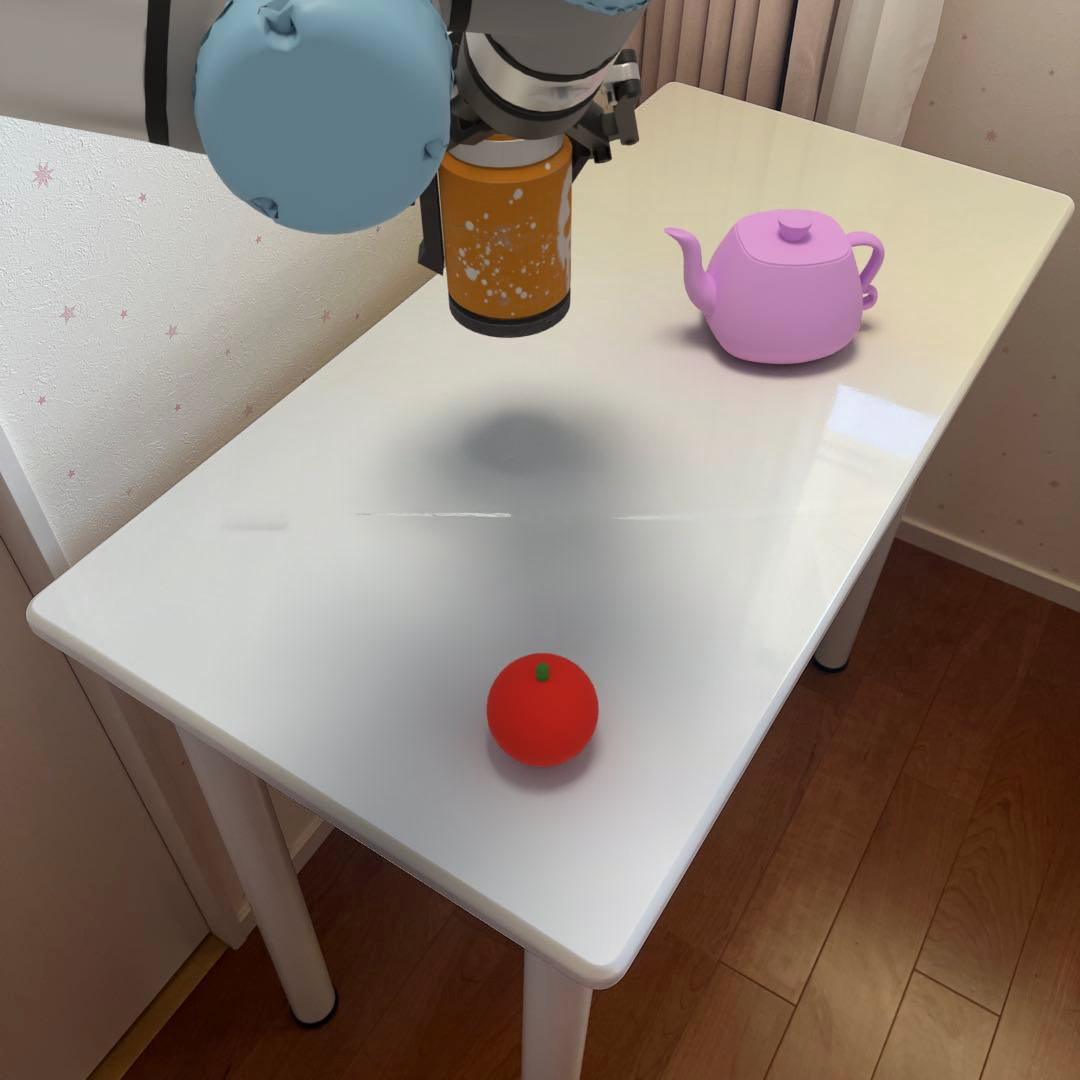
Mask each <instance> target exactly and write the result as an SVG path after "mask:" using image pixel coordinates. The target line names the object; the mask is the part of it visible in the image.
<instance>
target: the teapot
mask: <svg viewBox="0 0 1080 1080" xmlns="http://www.w3.org/2000/svg"><path fill="white" fill-rule="evenodd" d="M663 232H664V233H665V234H667V235H668V236H669V237H671V238H672V239H673V240H674V241H676V242H677V243H678V245H679V247H680V248H681V251H682V257H683V283H684V288H685V293H686V294H687V296H688V298H689V301H690V302H691V303H692V304H693V305H694V306H695V308H697V309H698V310H700V311H701V312H702V313H703V316H704V318H705V320H706V324H707V325H708V327H709V328H710V330H711V332H712V334H713V336H714V337H715V339H716V341H718V343H719V345H720V346H721V347H722V349H724V351H726V353H728V354H730V355H731V356H733V357H735V358H737V359H740V360H742V361H743V360H744V361H748V362H753V363H760V364H771V365H792V364H793V365H794V364H802V363H807V362H812V361H816V360H819V359H823V358H827V357H829V356H831V355H833V354H835V353H837V352H839V351H840V350H842V349H843V348H844V347H846V346H847V345H848V344H850V342H851V341H852V340H853V339H854V338H855V337H856V336H857V334H858V332H859V330H860V328H861V322H862V318H863V311H867V310H869V309H872V307H874V306H875V305H876V303H877V301H878V297H879V293H878V290H877V288H876V287H875V286H874V285H872V282H873V280H874V279H875V277H876V276H877V274H878V273H879V271H880V269H881V267H882V266H883V263H884V260H885V255H886V254H885V247H884V244H883V242H882V241H881V240H880V238H879V237H877V236H876V234H873V233H871V232H868V231H864V230H856V231H851V232H848V233H845V231H844V229H843V227H842V226H841V225H840V224H839V222H838V221H837V220H836V219H835V218H834V217H832V216H831V215H829V214H827V213H824V212H821V211H816V210H811V209H799V208H798V209H795V208H783V209H771V210H764V211H758V212H754V213H751V214H748V215H745V216H743V217H741V218H740V219H738V220H737V221H736V222H735V223H734V224H733V226H731V228H730V229H729V230H728V232H727V233H726V234H725V236H724V237H723V239H722V240H721V241H720V243H719V244H718V246H717V247H716V249H715V250H714V252H713V254H712V256H711V258H710V260H709V262H708V265H707V268H706V270H704V267H703V261H702V260H703V259H702V258H703V257H702V248H701V243H700V241H699V239H698V238H697V237H696V235H694V234H693V233H692V232H690V231H688V230H685V229H683V228H679V227H664V228H663ZM861 246H864V247H865V246H866V247H870V248H872V253H871V254H870V257H869V260H868V262H866V265H865V266H864V268H863V269H862V271H861V272H860V271H859V268H858V265H857V261H856V258H855V254H854V251H853V248H855V247H861ZM864 295H865V296H864Z"/></svg>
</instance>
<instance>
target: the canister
mask: <svg viewBox="0 0 1080 1080" xmlns="http://www.w3.org/2000/svg"><path fill="white" fill-rule="evenodd" d="M448 36H449V38H450V41H451V44H452V59H451V66H452V69H453V71H454V70H455V69H456V68H457V62H458V55H459V50H460V45H461V41H462V37H463V32H449V33H448ZM572 187H573V183H572V144H571V142H570V140H569V138H568V137H567V136H566V135H565V134H561V135H556V136H553V137H550V138H546V139H541V140H524V139H518V138H514V137H510V136H508V135H505V134H494V135H492V136H490V137H489V138H487V139H485V140H483V141H482V142H480V143H478V144H476V145H473V146H472V145H462V144H460V145H458V146H456V147H455V148H453V149H451V150H449V151H448V152H446V153H445V154H444V157H443V159H442V161H441V164H440V166H439V168H438V171H437V172H436V174H435V176H434V177H433V179H432V181H431V182H430V184H429V186H428V187H427V188H426V189H425V190H424V192H423V193H422V194H421V195H420V196H419V197H418V199H419V206H420V219H421V228H422V238H423V239H422V240H421V242H420V244H419V245H418V247H419V248H418V255H417V264H418V265H421V266H423V267H424V268H426V269H428V270H430V271H432V272H434V273H436V274H438V275H439V276H442V277H444V268H445V273H446V283H447V296H448V297H447V298H448V309H449V311H450V314H451V315H452V317H453V318H454V320H455V321H456V322H457V323H458V324H459V325H461V326H462V327H464V328H465V329H467V330H468V331H471V332H473V333H476V334H478V335H482V336H486V337H490V338H500V339H516V338H525V337H529V336H533V335H538V334H541V333H543V332H546V331H548V330H549V329H551V328H553V327H555V326H556V325H558V324H559V323H561V321H562V320H564V319H565V317H566V316H567V314H568V313H569V310H570V307H571V300H572V299H571V297H572V296H571V293H572V291H571V290H572V288H571V283H572V279H571V278H572V216H573V215H572V210H573V209H572V207H573V201H572V200H573V197H572V196H573V188H572Z"/></svg>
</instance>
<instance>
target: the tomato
mask: <svg viewBox="0 0 1080 1080" xmlns="http://www.w3.org/2000/svg"><path fill="white" fill-rule="evenodd" d="M599 705H600V704H599V698H598V693H597V690H596V688H595V685H594V683H593V682H592V681H591V678H590V677H589V676H588V674H587V673H586V672H585V671H584V670H583V669H582V668H581V667H580V666H579V665H578V664H576V663H575V662H574V661H572V660H570V658H569V659H568V658H566V657H565V656H561V655H559V654H555V653H550V652H537V653H530V654H527V655H523V656H520V657H519V658H517V659H515V660H513V661H512V662H510V663H508V664H507V665H506V666H505V667H504V668H503V669H502V670H501V671H500V672H499V673H498V675H497V676H496V677H495V679H494V681H493V683H492V685H491V686H490V689H489V692H488V696H487V701H486V719H487V725H488V729H489V731H490V733H491V735H492V738H493V739H494V741H495V742H496V744H497V745H498V746H499V747H500V749H501V750H502V751H503V752H504V753H505V754H507V755H508V756H509V757H510V758H512V759H514V760H516V762H520V763H521V764H525V765H527V766H532V767H539V768H543V767H544V768H546V767H547V768H548V767H553V766H558V765H561V764H563V763H566V762H568V761H570V760H572V759H573V758H575V757H576V756H578V755H579V754H580V753H581V752H583V750H584V749H585V748H586V747H587V745H588V744H589V743H590V742H591V739H593V736H594V734H595V731H596V729H597V726H598V721H599V717H600V716H599V714H600V707H599Z"/></svg>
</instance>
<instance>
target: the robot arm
mask: <svg viewBox="0 0 1080 1080" xmlns="http://www.w3.org/2000/svg"><path fill="white" fill-rule="evenodd" d="M651 2H652V0H0V116H1V117H5V118H11V119H18V120H22V121H29V122H33V123H34V122H35V123H39V124H46V125H50V126H55V127H63V128H68V129H73V130H78V131H79V130H80V131H84V132H91V133H95V134H102V135H106V136H107V135H108V136H113V137H116V138H117V137H118V138H124V139H129V140H134V141H140V142H144V143H145V142H147V143H150V144H153V145H159V146H165V147H169V148H173V149H177V150H181V151H185V152H188V153H195V154H200V155H205V156H207V158H208V161H209V163H210V165H211V167H212V168H213V171H214V172H215V173H216V174H217V176H218V177H219V179H220V180H221V181H222V183H223V184H224V185H225V187H227V189H228V190H229V191H230V192H231V193H232V195H234V196H235V197H236V198H238V199H239V200H241V201H243V202H245V204H246V205H248V206H250V207H251V208H252V209H253V210H254V211H256V212H258V213H260V214H262V215H263V216H265V217H266V218H269V219H271V220H272V221H273V222H274V223H275V224H277V225H280V226H282V227H285V228H287V229H291V230H294V231H298V232H302V233H308V234H315V235H331V236H332V235H333V236H335V235H346V234H353V233H356V232H362V231H365V230H368V229H371V228H374V227H377V226H379V225H381V224H384V223H385V222H387V221H389V220H392V219H394V218H396V217H397V216H399V215H401V213H403V212H404V211H406V210H407V209H408V208H409V207H414V206H415V205H416V201H417V200H418V199H419V196H420V195H421V194H422V193H423V192H424V190H425V189H426V188H427V187H428V186H429V184H430V182H431V181H432V179H433V177H434V176H435V174H436V172H437V173H438V168H439V166H440V164H441V161H442V159H443V157H444V154H445V153H446V152H448V151H449V150H451V149H453V148H455V147H456V146H458V145H460V144H462V145H472V146H473V145H476V144H478V143H480V142H482V141H483V140H485V139H487V138H489V137H490V136H492V135H494V134H505V135H508V136H510V137H514V138H518V139H524V140H541V139H546V138H550V137H553V136H556V135H561V134H565V135H566V136H567V137H568V138H569V140H570V142H571V144H572V184H574V183H575V181H576V179H577V178H578V176H579V175H580V173H581V172H582V170H583V169H584V167H585V165H586V164H587V163H588V161H589V160H593V163H594V164H605V163H609V162H611V161H612V160H613V155H612V150H611V144H610V142H614V141H617V140H619V141H620V145H622V146H633V145H636V144H637V143H638V142H640V134H639V129H638V123H637V117H636V112H635V105H636V104H637V102H638V101H640V99H641V97H642V96H643V89H642V82H641V76H640V70H639V65H638V57H637V52H636V50H635V48H624V46H625V44H626V43H627V41H628V39H629V37H630V36H631V34H632V33H633V31H634V30H635V28H636V26H637V25H638V23H639V21H640V19H641V18H642V16H643V15H644V13H645V11H646V10H647V8H648V7H649V5H650V4H651ZM452 32H463V37H462V41H461V45H460V50H459V55H458V62H457V68H456V69H455V70H454V71H453V69H452V66H451V59H452V44H451V41H450V38H449V36H448V35H449V33H452ZM599 91H600V93H601V95H602V96H606V97H607V104H608V105H609V106H610V107H612V111H613V112H607V113H606V112H605V109H604V108H603V107H602V106H601V105H599V103H597V102H596V101H594V99H595V97H596V95H597V94H598V92H599Z"/></svg>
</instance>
